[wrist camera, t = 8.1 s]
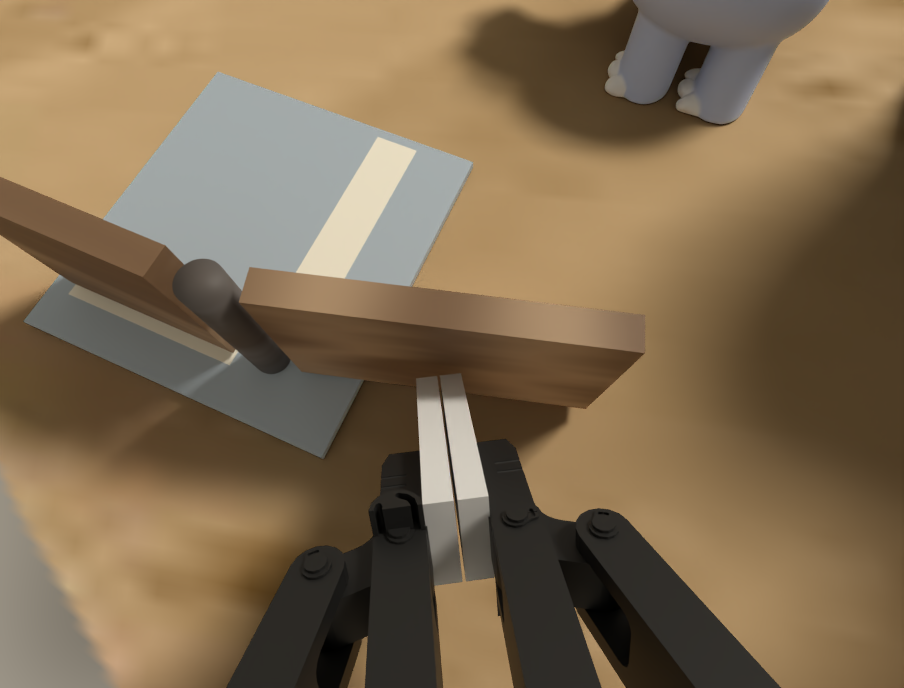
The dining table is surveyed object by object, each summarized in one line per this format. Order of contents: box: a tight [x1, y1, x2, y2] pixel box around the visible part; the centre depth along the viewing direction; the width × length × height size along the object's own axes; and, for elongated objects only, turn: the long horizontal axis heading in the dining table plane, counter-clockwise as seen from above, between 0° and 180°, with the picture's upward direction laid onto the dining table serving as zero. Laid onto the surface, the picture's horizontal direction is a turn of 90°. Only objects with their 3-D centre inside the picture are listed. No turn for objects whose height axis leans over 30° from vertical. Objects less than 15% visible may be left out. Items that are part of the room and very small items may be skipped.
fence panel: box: [239, 267, 645, 409], centre depth 19 cm, size 12×1×7 cm, turn 82°
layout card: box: [23, 72, 473, 459], centre depth 25 cm, size 16×15×1 cm
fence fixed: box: [0, 177, 290, 374], centre depth 20 cm, size 2×11×8 cm, turn 66°
